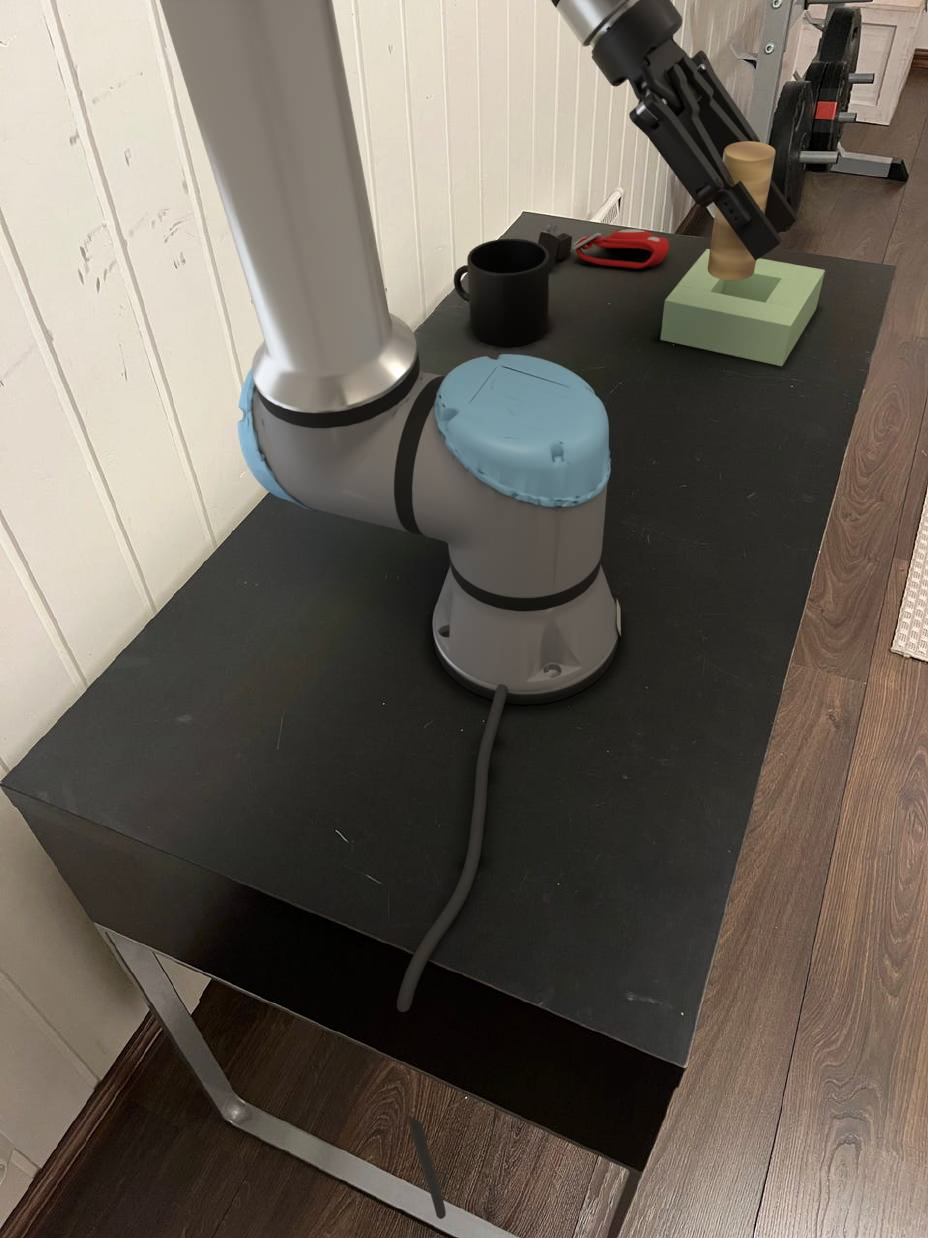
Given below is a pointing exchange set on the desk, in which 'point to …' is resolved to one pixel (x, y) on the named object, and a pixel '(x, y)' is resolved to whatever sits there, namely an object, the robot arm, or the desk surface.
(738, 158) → the tan cylinder
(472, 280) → the mug
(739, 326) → the holder
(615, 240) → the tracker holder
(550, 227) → the lighter
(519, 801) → the desk surface
